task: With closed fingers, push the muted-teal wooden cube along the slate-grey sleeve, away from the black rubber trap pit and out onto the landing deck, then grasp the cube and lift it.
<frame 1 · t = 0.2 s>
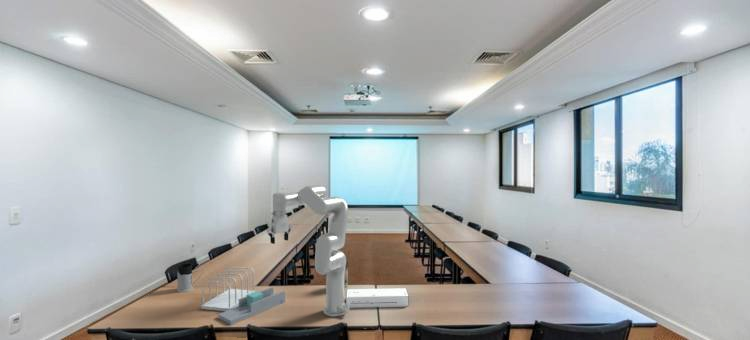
hand: (279, 241, 197), 31 cm above the table, tool pointing down, fingers open, 9 cm apart
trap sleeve: (256, 308, 176), on the table
file sorter: (229, 301, 186), on the table
teal block: (255, 305, 175), point 2 cm above the table, touching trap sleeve
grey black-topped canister: (190, 289, 204), on the table
laminator: (377, 303, 183), on the table
coffee box: (339, 288, 204), on the table
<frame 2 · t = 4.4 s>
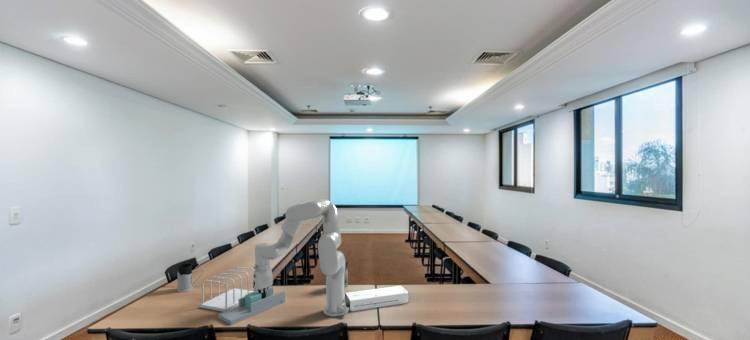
hand: (262, 299, 179), 3 cm above the table, tool pointing down, fingers closed
teal block: (253, 305, 175), point 2 cm above the table, touching gripper
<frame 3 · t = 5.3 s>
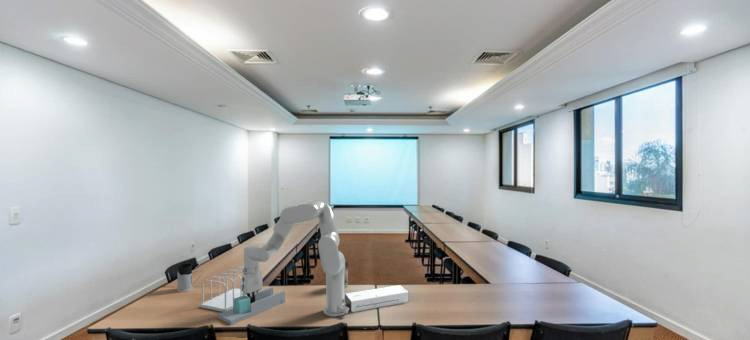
hand: (252, 303, 174), 3 cm above the table, tool pointing down, fingers closed
teal block: (241, 310, 170), point 2 cm above the table, touching gripper
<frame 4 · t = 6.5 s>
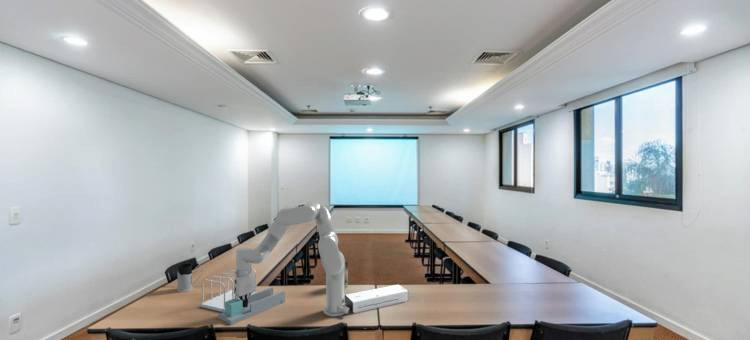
hand: (244, 306, 171), 3 cm above the table, tool pointing down, fingers closed
teal block: (233, 313, 166), point 2 cm above the table, touching gripper, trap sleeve
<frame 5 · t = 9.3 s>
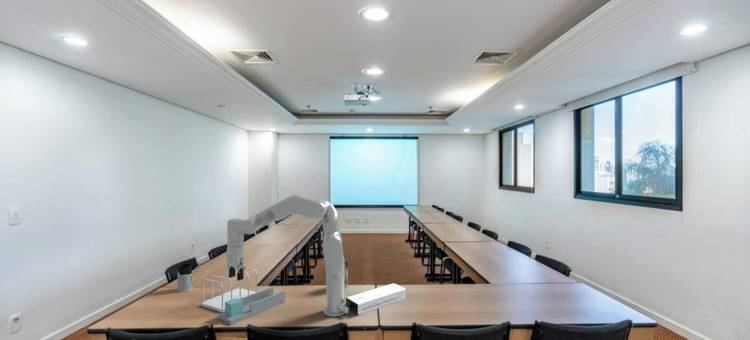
hand: (236, 278, 166), 20 cm above the table, tool pointing down, fingers open, 6 cm apart
teal block: (233, 313, 166), point 2 cm above the table, touching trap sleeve
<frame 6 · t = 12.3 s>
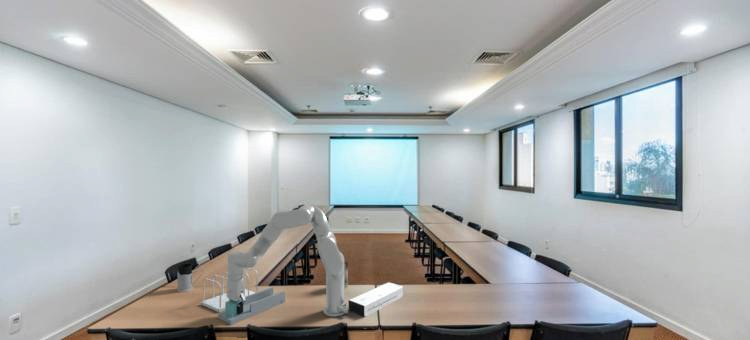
hand: (236, 311, 167), 3 cm above the table, tool pointing down, fingers closed on teal block, 6 cm apart
teal block: (234, 313, 166), point 2 cm above the table, touching gripper, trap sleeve
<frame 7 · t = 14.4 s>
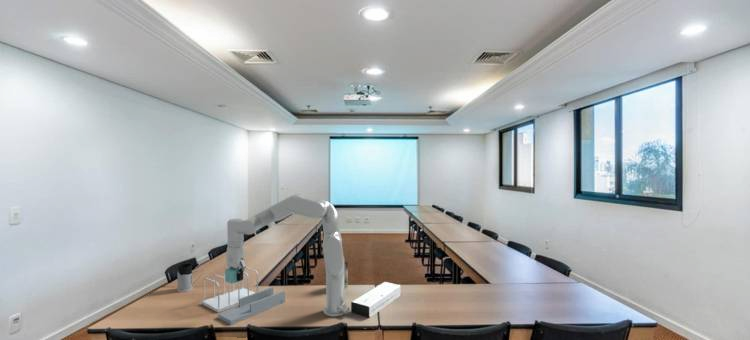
hand: (236, 278, 166), 19 cm above the table, tool pointing down, fingers closed on teal block, 6 cm apart
teal block: (234, 280, 166), point 19 cm above the table, touching gripper
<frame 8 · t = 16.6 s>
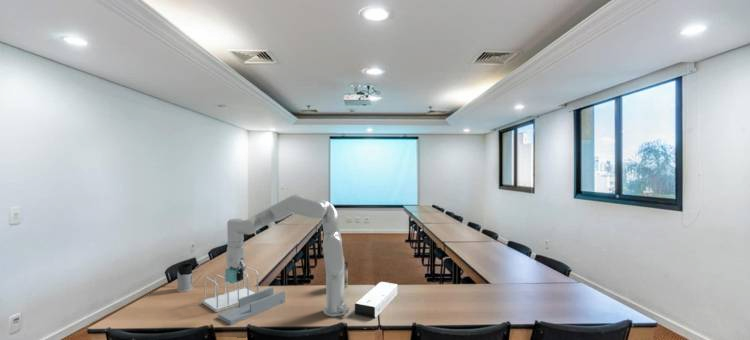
hand: (236, 278, 166), 19 cm above the table, tool pointing down, fingers closed on teal block, 6 cm apart
teal block: (234, 280, 166), point 19 cm above the table, touching gripper
at the end: the gripper is holding teal block; teal block inside the target area on the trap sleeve (1.6 cm from its centre), point 18.7 cm above the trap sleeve's base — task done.
